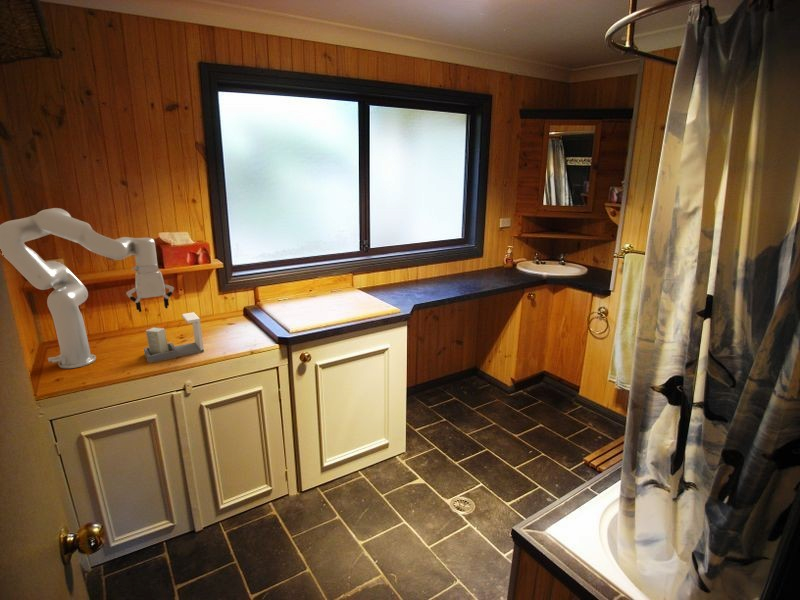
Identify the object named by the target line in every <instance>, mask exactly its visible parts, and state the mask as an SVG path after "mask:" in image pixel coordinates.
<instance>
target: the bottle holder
mask: <svg viewBox="0 0 800 600" xmlns="http://www.w3.org/2000/svg"><path fill="white" fill-rule="evenodd" d="M181 317H182V318H183V319H184V321H185V322H186V323H187V324H192V329H193V337H194V342H190V343H186V344H180V345H174V344H173V342H167V345H168V350H169V352H164V353H159V354H154V355H150V351H149V346H147V347H143V352H144V356H145V359H146V361H147V362H148V364H151V363H152V362H153V363H158V362H162V361H167V360H171V359H175V358H176V357H177V358H180V357H181V358H182V357H186V356H189V355H195V354H199V352H200V353H204V352H205V347H204V340H203V332H202V331H203V330H202V325H201V324H202V323H201V318H200V317H199V316H198V315H197V314H196V313H195V311H192V312H187V313H182V314H181ZM177 358H176V359H177ZM153 363H152V364H153Z"/></svg>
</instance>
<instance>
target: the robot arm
mask: <svg viewBox="0 0 800 600" xmlns="http://www.w3.org/2000/svg"><path fill="white" fill-rule="evenodd" d="M48 235H49V236H50V235H54V236H56V237H59V238H63V239H65V240H68V241H70V242H74V243H77V244H79V245H80V246H81V247H83V248H85V249H86V250H88V251H89V252H92V253H94V254H96V255H99V256H103V257H106V258H108V259H112V260H116V261H120V260H124V259H126V258H129V257H130V256H134V259H135V266H134V267H132V271H134V272H135V278H134V280H135V287H133V288H132V289H130V290H127V291H126V294H125V295H126V296H127V297H128V298H129V299H130V300H131V301H133V302H134V303H135V306H136V307H135V308H136V310H137V311H138V312H139V313H142V306H141V302H140V301H141V300H142V299H149V298H157V297H163V305H164V306H163V307H164V308H165V309H168V306H170V301H169V299H170V297H171V296H172V295H173V292H174V290H175V287H174V286H172V285H168V284H167V283H166V284H165V280H164V277H163V274H162V271H161V270H159V264H158V259H157V258H158V257H157V250H156V242H155V240H154V238H152V237H129V236H122V237H118V238H116V239H113V238H111V237H108V236H105V235H103V234H100V233H98V232H97V231H95V230H94V229H93V227H92V226H91V224H89V222H86V221H82V220H80V219H77V218H74V217H72V216H71V214H70V213H69V212H68V211H67V210H65V209H64V208H60V207H59V208H58V207H53V208H47V209H42V210H40V211H39V212H37V213H36V214H34V215H30V216H27V217H24V218H19V219H13V220H8V221H4V222H3V223H1V224H0V249H1V251H2V254H1V256H3V255H4V256H3V257H4V258H5V260H7V261H8V262H10V264H11V265H12V266H13V267H14V268H15V269H16V270H17V271H18V272H19V274H21V276H23V277H24V279H26V280H27V281H28V282H29V283H30V284H31V286H33V287H34V288H36V289H38V290H40V291H41V290H42V291H44V290H49V289H52V288H53V289H54V290H53V291H51V293H50V294H49V295H48V297H47V301H46V304H47V308H48V310H49V312H50V314H51V317H52V321H53V325H54V328H55V332H56V337H57V342H58V346H59V350H60V351H59V352H60V354H58V355H57V356H50V357H47V360H48V361H47V362H48V363H51V364H55V363H58V367H59V368H61V369H76V368H81V367H84V366H88V365H90V364H92V363H94V362H95V361H96V359H97V356H96V355H95V354H93V353H91V349H90V344H89V340H88V335H87V334H88V333H87V328H86V325H85V320H84V317H83V313H82V312H81V310H80V308H79V306H81V305H82V304H84V303H85V302H86V301H87V299H88V297H89V292H88V289H87V287H86V286H85V285H84V283H83V282H82V281H81V280H80V279H79V278H78V277H77V276H76V275H75V274H74V273H73V272H72V270H70V269H69V268H68V267H67V266H66V265H65V264H63V263H62V262H59V261H54V260H48V261H45V260H44V259H43V258H42V257H41V256H40V255H39V254H38V253H37V252H36V251H35V250H33V249H32V248H30V247H28V246H27V245H26V244H25V243H26V242H29V241H32V240H36V239H40V238H42V237H45V236H48ZM166 289H167V290H169V291H168V292H167V293H166ZM135 292H136V297H135V296H133V294H134V293H135Z"/></svg>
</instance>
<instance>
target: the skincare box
mask: <svg viewBox="0 0 800 600" xmlns="http://www.w3.org/2000/svg"><path fill="white" fill-rule="evenodd" d="M145 335H146V339H147V344H148V347H149V351H150V355H154V354H159V353H164V352H169V351H170V350H168V345H167V344H168V339H167V334H166V330H165V328H163V327H155V326H154V327H151V328H149V329H146V330H145Z"/></svg>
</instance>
